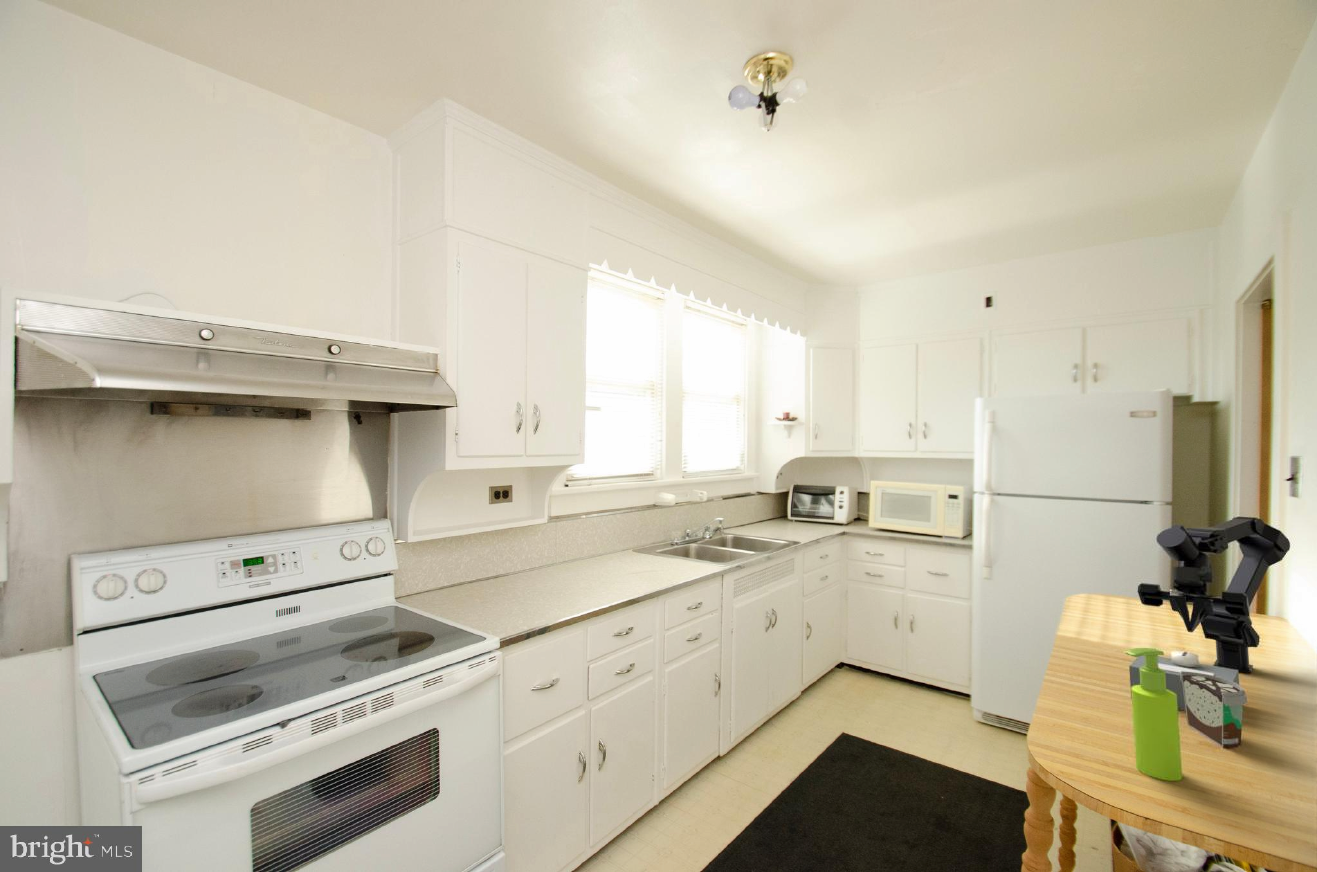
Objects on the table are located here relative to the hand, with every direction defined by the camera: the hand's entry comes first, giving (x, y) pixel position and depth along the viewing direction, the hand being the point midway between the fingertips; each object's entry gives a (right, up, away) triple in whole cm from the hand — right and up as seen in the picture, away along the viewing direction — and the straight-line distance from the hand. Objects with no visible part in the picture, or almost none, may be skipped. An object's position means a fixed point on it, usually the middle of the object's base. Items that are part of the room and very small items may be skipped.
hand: (1189, 631), depth 133 cm
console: (-7, -13, -7) cm, 16 cm away
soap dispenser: (-36, -12, -34) cm, 51 cm away
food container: (-14, -12, -23) cm, 29 cm away
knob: (-5, -10, -4) cm, 12 cm away
